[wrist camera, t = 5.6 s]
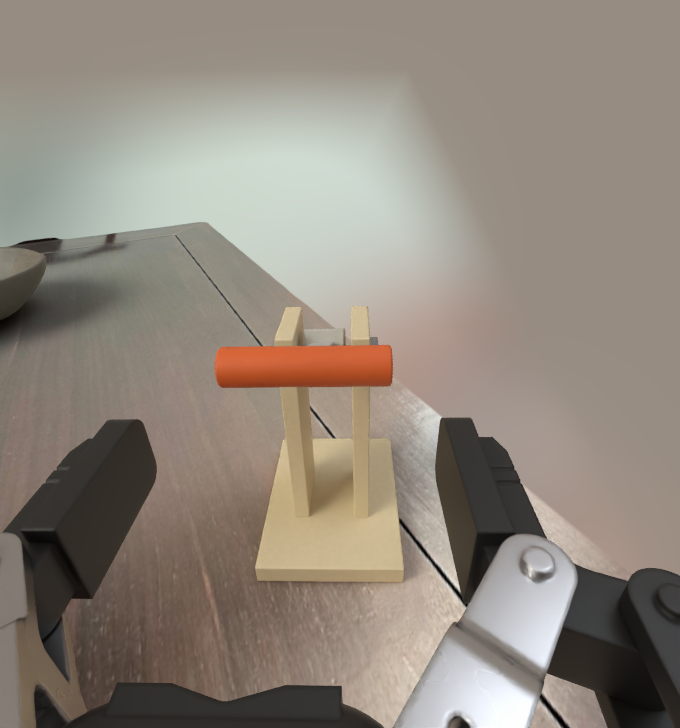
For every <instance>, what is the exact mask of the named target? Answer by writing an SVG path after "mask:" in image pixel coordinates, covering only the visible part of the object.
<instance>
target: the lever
mask: <svg viewBox="0 0 680 728" xmlns="http://www.w3.org/2000/svg"><path fill="white" fill-rule="evenodd" d="M392 371H393V361H392V349H391V346H389V345H345V329H306V330H304V346H263V347H221V348H220V349H219V350H218V352H217V355H216V360H215V374H216V379H217V382H218V385H219V386H220V387H222V388H251V387H373V386H391V383H392V375H393V372H392Z"/></svg>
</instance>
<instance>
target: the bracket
mask: <svg viewBox="0 0 680 728" xmlns="http://www.w3.org/2000/svg"><path fill="white" fill-rule="evenodd" d="M351 345H378V338H377V337H370V331H369V317H368V307H367V306H355V307H354V306H353V307H352V308H351ZM273 346H304V328H303V316H302V308H301V307H287V308H286V309H285V312H284V314H283V317H282V320H281V323H280V326H279V329H278V331H277V334H276V337H275V339H274V341H273ZM280 393H281V401H282V410H283V418H284V426H285V435H286V439H283V443H282V448H281V452H280V457H279V461H278V466H277V470H276V475H275V479H274V484H273V489H272V493H271V498H270V502H269V507H268V511H267V516H266V521H265V525H264V530H263V534H262V539H261V543H260V548H259V552H258V557H257V562H256V566H255V570H256V575H257V580H258V581H314V582H403V580H404V562H403V553H402V544H401V535H400V525H399V516H398V507H397V498H396V488H395V479H394V470H393V461H392V452H391V442H390V439H369V436H370V387H352V429H353V439H312V428H311V416H310V403H309V391H308V387H280Z"/></svg>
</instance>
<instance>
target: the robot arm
mask: <svg viewBox="0 0 680 728" xmlns="http://www.w3.org/2000/svg"><path fill="white" fill-rule="evenodd" d="M435 471H436V482H437V487H438V492H439V496H440V501H441V505H442V510H443V514H444V519H445V523H446V528H447V532H448V536H449V541H450V545H451V550H452V554H453V559H454V563H455V568H456V572H457V577H458V581H459V585H460V590H461V594H462V599H463V603H464V604H469V605H468V607H467V608H466V610H465V612H464V614H463V616H462V617H461V619H460V620H459V622H458V623H456V622H454V623H453V624H452V625H451V626H450V627H449V629H448V630H447V632H446V633H445V635H444V637H443V639H442V640H441V642H440V644H439V646H438V648H437V649H436V651H435V653H434V655H433V656H432V658H431V660H430V662H429V664H428V665H427V667H426V669H425V671H424V673H423V674H422V676H421V678H420V680H419V681H418V683H417V685H416V687H415V689H414V690H413V692H412V694H411V696H410V698H409V699H408V701H407V703H406V705H405V706H404V708H403V710H402V712H401V714H400V715H399V717H398V719H397V721H396V723H395V724H394V726H393V728H529V727H530V724H531V721H532V718H533V716H534V713H535V710H536V707H537V704H538V701H539V698H540V695H541V692H542V689H543V685H544V679H545V676H546V673H548V674H550V675H553V676H556V677H559V678H561V679H564V680H567V681H569V682H572V683H575V684H578V685H580V686H583V687H586V688H589V689H591V690H594V691H595V694H596V697H597V700H598V702H599V705H600V708H601V711H602V713H603V716H604V719H605V722H606V724H607V727H608V728H680V576H679V575H677V574H674V573H672V572H669V571H666V570H662V569H656V568H646V569H641V570H638V571H636V572H635V573H634V574H632V576H631V577H630V579H629V581H626V580H622V579H619V578H615V577H612V576H608V575H604V574H601V573H597V572H594V571H591V570H588V569H585V568H583V567H580V566H578V565H576V564H574V563H573V562H572V560H571V559H570V557H569V556H568V555H567V554H566V552H564V551H563V550H562V549H561V548H560V547H559V546H557V545H556V544H555V543H553V542H551V541H550V540H548V539H547V537H546V536H545V534H544V531H543V529H542V527H541V525H540V523H539V520H538V518H537V516H536V514H535V512H534V509H533V507H532V505H531V503H530V501H529V498H528V496H527V494H526V492H525V490H524V487H523V485H522V484H521V483H520V479H519V476H518V474H517V472H516V471H515V470H514V465H513V464H512V461H511V459H510V457H509V454H508V452H507V451H506V450H505V449H504V448H503V447H502V446H501V445H500V444H499V443H498V442H497V441H496V440H495V439H494V438H493V437H478V434H477V431H476V429H475V426H474V423H473V421H472V419H471V418H441V420H440V426H439V435H438V444H437V453H436V464H435ZM156 473H157V465H156V460H155V457H154V454H153V451H152V448H151V445H150V442H149V439H148V436H147V433H146V430H145V427H144V425H143V423H142V422H141V421H140V420H138V419H133V420H108V421H107V422H106V423H105V424H104V425H103V426H102V428H101V429H100V430H99V431H98V433H97V434H96V435H95V436H94V438H93V439H87V440H86V441H85V442H83V443H82V444H80V445H79V446H78V447H76V448H75V449H73V450H72V451H70V452H69V453H68V455H67V456H66V457H65V458H64V459H63V461H62V462H61V463H60V464H59V465H58V467H57V470H56V471H53V473H52V474H51V475H50V476H49V477H48V479H47V480H46V484H43V485H42V486H41V487H40V488H39V489H38V491H37V492H36V493H35V494H34V495H33V497H32V498H31V499H30V500H29V501H28V502H27V504H26V505H25V506H24V507H23V508H22V510H21V511H20V512H19V513H18V514H17V516H16V517H15V518H14V519H13V520H12V522H11V523H10V524H9V525H8V526H7V528H6V529H5V530H4V531H3V532H2V533H0V728H384V727H383V726H382V725H381V724H380V723H378V722H377V721H375V720H374V719H373V718H371V717H370V716H369V715H367V714H365V713H363V712H361V711H359V710H357V709H356V708H353V707H350V706H348V705H345V704H343V701H342V686H304V685H285V686H281V687H278V688H274V689H271V690H267V691H264V692H260V693H256V694H253V695H249V696H246V697H242V698H239V699H235V700H232V701H227V702H226V701H219V700H216V699H213V698H210V697H208V696H205V695H202V694H200V693H197V692H194V691H191V690H189V689H186V688H183V687H180V686H178V685H175V684H172V683H117V685H116V688H115V690H114V692H113V695H112V697H111V700H110V702H109V703H107V704H104V705H102V706H99V707H97V708H94V709H92V710H90V711H87V708H86V706H85V704H84V701H83V699H82V696H81V692H80V688H79V682H78V676H77V670H76V664H75V658H74V652H73V645H72V639H71V633H70V627H69V621H68V617H67V614H66V613H65V609H66V607H67V605H68V604H69V602H70V600H71V599H93V597H94V595H95V593H96V591H97V589H98V587H99V586H100V584H101V582H102V580H103V578H104V576H105V574H106V573H107V571H108V569H109V567H110V565H111V563H112V561H113V559H114V558H115V556H116V554H117V552H118V550H119V548H120V546H121V545H122V543H123V541H124V539H125V537H126V535H127V533H128V532H129V530H130V528H131V526H132V524H133V522H134V520H135V519H136V517H137V515H138V513H139V511H140V509H141V507H142V505H143V504H144V502H145V500H146V498H147V496H148V494H149V492H150V491H151V489H152V487H153V485H154V482H155V479H156Z"/></svg>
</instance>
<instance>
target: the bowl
mask: <svg viewBox="0 0 680 728" xmlns="http://www.w3.org/2000/svg"><path fill="white" fill-rule="evenodd" d="M45 269H46V257H45V256H44V255H43V254H39V253H38V252H35V251H32V250H28V249H23V248H7V247H4V248H0V320H2V319H4V318H6V317H8V316H10V315H11V314H13V313H14V312H16V311H17V310H18V309H20V308H21V307H22V306H23V304H24V303H25V302H26V301H27V300H28V298H29V297H30V296H31V295H32V293H33V292H34V290H35V289H36V288H37V286H38V285H39V283H40V281H41V279H42V277H43V275H44V272H45Z"/></svg>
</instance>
